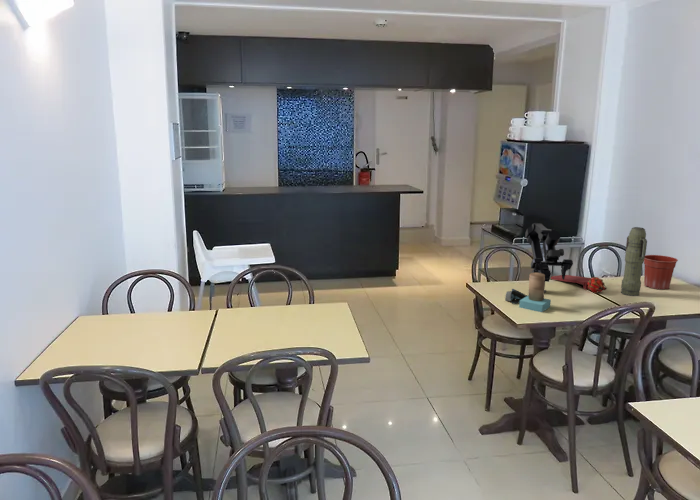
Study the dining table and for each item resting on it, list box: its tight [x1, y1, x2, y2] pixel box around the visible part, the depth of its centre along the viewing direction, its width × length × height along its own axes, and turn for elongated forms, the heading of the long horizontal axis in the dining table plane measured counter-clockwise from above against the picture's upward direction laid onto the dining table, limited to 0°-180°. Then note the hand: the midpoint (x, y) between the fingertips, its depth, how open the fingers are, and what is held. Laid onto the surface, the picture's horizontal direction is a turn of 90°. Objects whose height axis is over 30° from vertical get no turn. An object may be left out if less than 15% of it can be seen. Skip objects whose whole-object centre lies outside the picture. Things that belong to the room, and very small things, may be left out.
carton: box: [550, 274, 592, 291], centre depth 304 cm, size 12×5×25 cm
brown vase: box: [528, 272, 546, 301], centre depth 261 cm, size 7×7×12 cm
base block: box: [518, 294, 552, 313], centre depth 262 cm, size 11×11×4 cm
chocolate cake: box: [504, 288, 529, 305], centre depth 271 cm, size 10×7×12 cm
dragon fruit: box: [587, 276, 608, 294], centre depth 287 cm, size 8×8×12 cm
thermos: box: [620, 226, 648, 297], centre depth 282 cm, size 9×12×35 cm
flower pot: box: [643, 254, 679, 290], centre depth 297 cm, size 16×16×16 cm
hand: (553, 279), depth 261 cm, fingers open, 9 cm apart
